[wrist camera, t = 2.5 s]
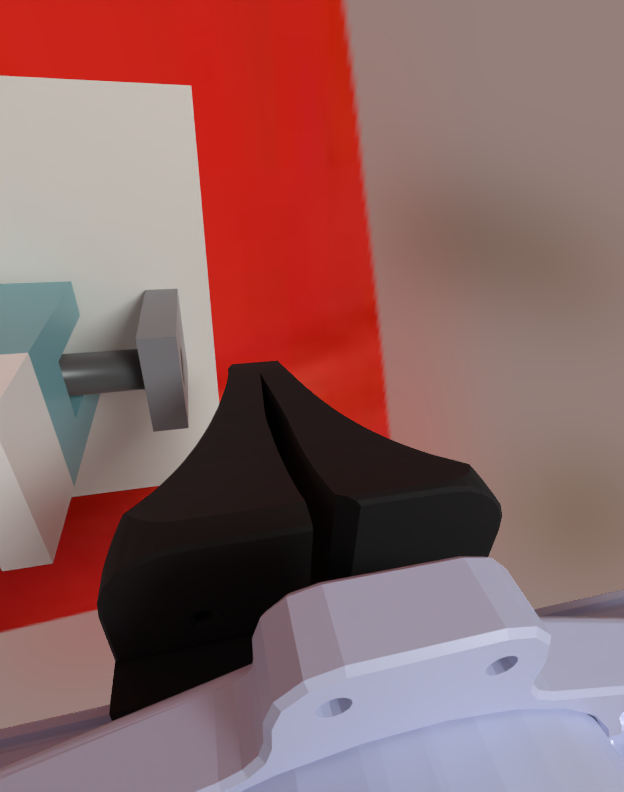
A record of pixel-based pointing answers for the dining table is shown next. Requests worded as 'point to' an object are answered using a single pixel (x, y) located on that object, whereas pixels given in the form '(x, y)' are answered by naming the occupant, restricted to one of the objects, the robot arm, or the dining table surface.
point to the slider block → (37, 421)
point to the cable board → (115, 261)
